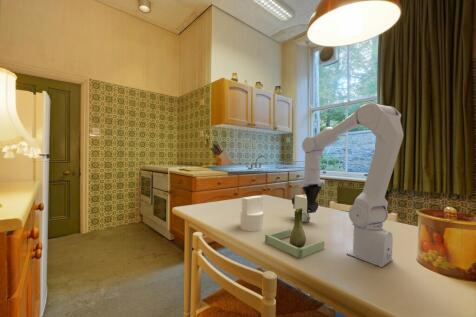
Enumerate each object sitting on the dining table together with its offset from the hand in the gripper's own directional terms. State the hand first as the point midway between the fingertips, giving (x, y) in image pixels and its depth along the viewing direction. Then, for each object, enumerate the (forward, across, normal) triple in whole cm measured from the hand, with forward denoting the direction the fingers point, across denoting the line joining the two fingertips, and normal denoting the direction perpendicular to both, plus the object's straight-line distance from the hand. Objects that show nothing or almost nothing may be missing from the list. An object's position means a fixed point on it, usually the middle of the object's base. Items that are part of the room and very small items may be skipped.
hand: (311, 204), depth 85 cm
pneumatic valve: (+11, -10, -10) cm, 18 cm away
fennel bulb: (+11, +15, +6) cm, 19 cm away
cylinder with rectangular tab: (+11, +16, -16) cm, 25 cm away
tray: (+10, +16, +5) cm, 20 cm away
